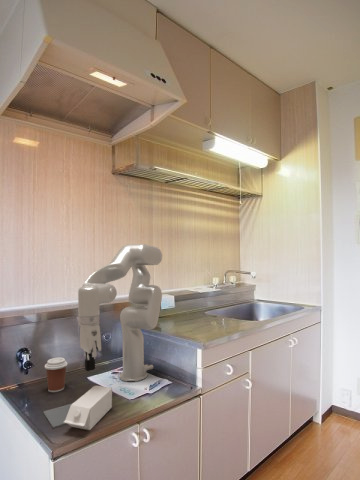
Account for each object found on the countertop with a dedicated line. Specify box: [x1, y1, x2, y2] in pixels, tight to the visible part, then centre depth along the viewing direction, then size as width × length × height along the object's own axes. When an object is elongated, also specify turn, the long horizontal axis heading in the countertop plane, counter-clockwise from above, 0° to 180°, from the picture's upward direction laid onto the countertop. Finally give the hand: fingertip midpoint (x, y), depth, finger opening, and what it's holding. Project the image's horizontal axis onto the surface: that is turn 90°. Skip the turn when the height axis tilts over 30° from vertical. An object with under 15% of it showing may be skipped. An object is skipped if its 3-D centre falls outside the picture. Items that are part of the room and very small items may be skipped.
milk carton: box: [63, 385, 113, 431], centre depth 111 cm, size 7×7×19 cm
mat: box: [42, 402, 74, 429], centre depth 116 cm, size 17×13×1 cm
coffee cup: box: [44, 357, 69, 393], centre depth 137 cm, size 9×9×12 cm
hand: (90, 369), depth 121 cm, fingers closed
